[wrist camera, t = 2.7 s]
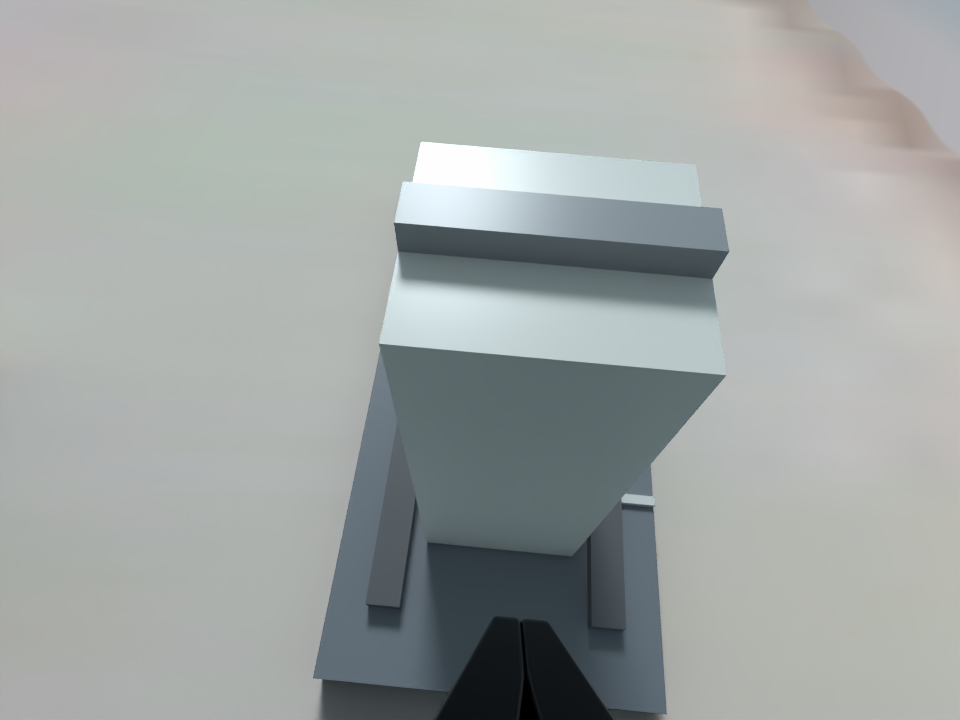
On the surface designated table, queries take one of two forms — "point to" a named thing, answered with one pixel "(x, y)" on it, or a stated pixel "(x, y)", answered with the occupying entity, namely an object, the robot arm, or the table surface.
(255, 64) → the table surface
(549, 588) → the fader track base
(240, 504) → the table surface
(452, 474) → the fader cap
